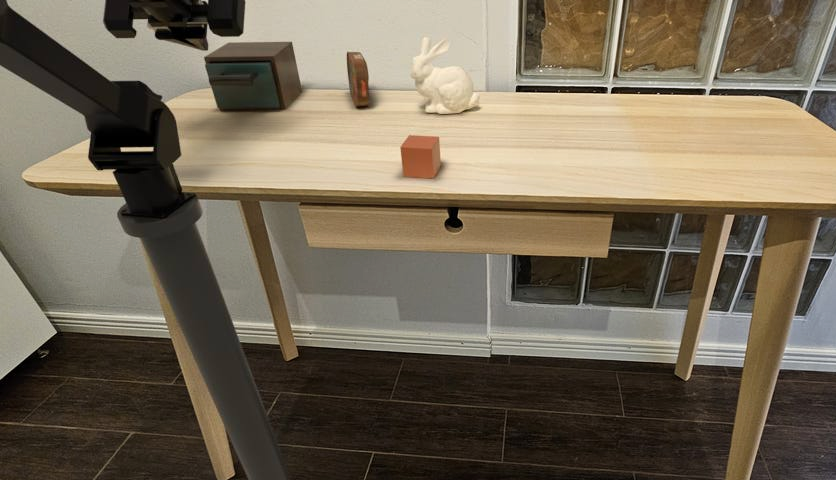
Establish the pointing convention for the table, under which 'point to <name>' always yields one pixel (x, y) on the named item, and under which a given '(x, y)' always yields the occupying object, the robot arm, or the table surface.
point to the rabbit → (442, 81)
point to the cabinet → (265, 51)
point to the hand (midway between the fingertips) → (205, 47)
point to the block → (420, 156)
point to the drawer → (243, 84)
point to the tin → (358, 78)
